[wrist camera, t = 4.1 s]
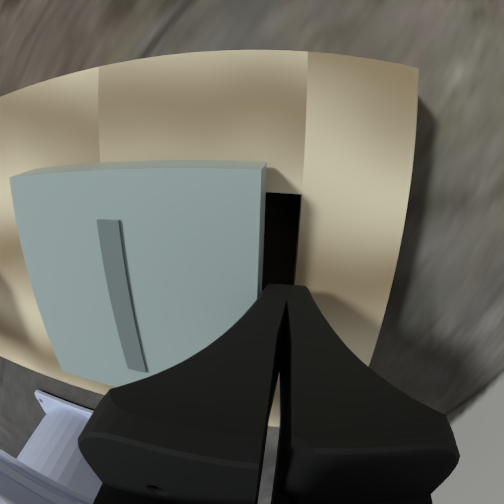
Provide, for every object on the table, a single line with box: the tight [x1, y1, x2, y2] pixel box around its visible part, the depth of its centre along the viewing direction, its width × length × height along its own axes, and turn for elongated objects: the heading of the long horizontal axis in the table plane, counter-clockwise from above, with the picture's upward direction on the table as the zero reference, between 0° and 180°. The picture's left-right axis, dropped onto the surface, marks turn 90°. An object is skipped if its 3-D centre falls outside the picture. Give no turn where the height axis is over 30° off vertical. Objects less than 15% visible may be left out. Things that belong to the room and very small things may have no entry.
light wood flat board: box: [0, 50, 418, 427], centre depth 13 cm, size 16×26×2 cm, turn 89°
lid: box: [9, 160, 267, 387], centre depth 11 cm, size 9×9×2 cm
